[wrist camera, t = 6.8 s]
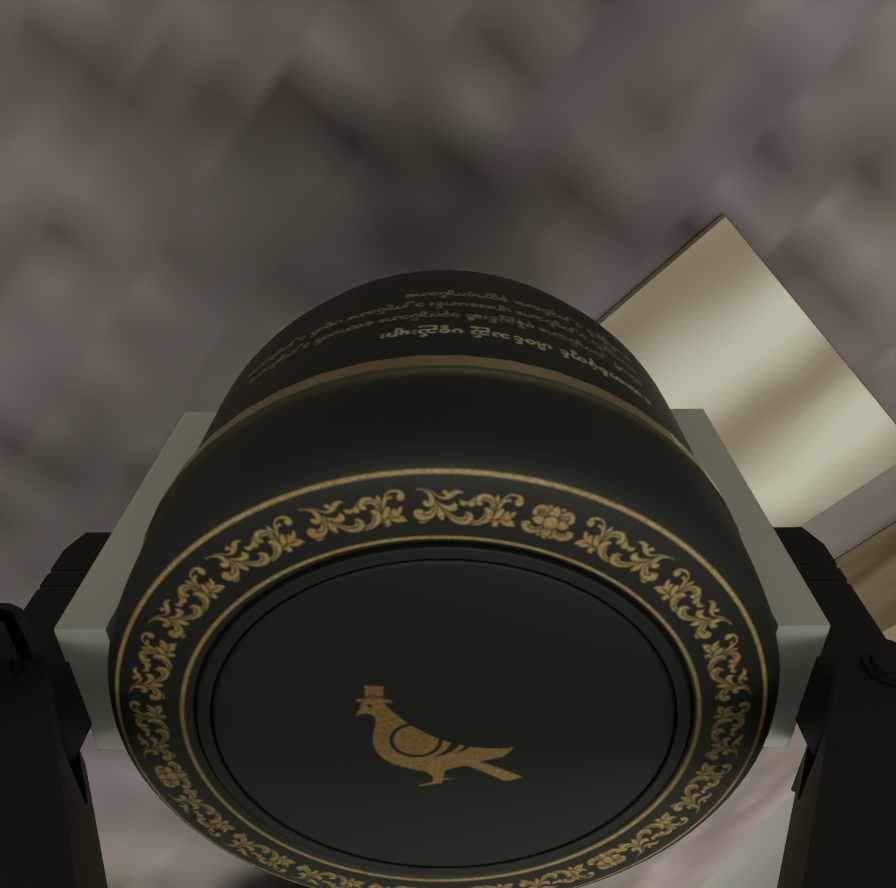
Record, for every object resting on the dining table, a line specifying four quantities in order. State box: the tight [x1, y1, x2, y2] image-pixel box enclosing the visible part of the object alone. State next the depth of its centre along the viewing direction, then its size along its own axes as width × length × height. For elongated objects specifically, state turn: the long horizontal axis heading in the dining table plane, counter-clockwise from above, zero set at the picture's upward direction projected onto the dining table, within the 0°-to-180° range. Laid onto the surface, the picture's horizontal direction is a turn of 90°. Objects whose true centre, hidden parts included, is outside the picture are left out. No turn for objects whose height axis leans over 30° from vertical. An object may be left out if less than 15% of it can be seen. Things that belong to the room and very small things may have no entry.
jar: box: [107, 270, 780, 888], centre depth 14 cm, size 10×10×8 cm
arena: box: [597, 214, 896, 642], centre depth 34 cm, size 23×20×5 cm
